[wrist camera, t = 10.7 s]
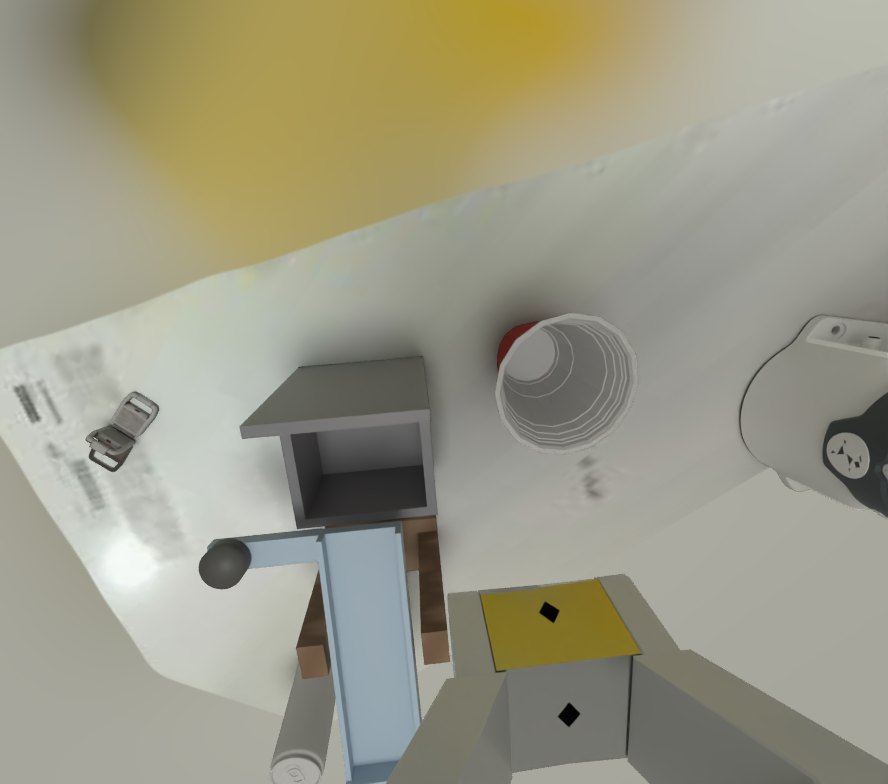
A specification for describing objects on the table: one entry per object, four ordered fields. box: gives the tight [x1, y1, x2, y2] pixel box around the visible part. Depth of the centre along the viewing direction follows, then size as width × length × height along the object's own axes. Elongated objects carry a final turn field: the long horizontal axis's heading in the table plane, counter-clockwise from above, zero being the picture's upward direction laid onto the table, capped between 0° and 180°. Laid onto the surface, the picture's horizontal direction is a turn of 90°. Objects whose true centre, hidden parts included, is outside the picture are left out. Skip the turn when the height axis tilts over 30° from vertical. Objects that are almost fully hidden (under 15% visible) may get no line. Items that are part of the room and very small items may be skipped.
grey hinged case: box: [86, 392, 159, 472], centre depth 43 cm, size 8×3×4 cm, turn 141°
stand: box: [296, 515, 450, 679], centre depth 43 cm, size 11×6×14 cm, turn 94°
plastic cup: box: [495, 313, 638, 454], centre depth 39 cm, size 11×11×12 cm
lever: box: [199, 521, 422, 784], centre depth 37 cm, size 14×20×6 cm
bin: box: [240, 356, 438, 529], centre depth 38 cm, size 12×12×16 cm
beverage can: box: [270, 664, 336, 784], centre depth 48 cm, size 5×5×12 cm
